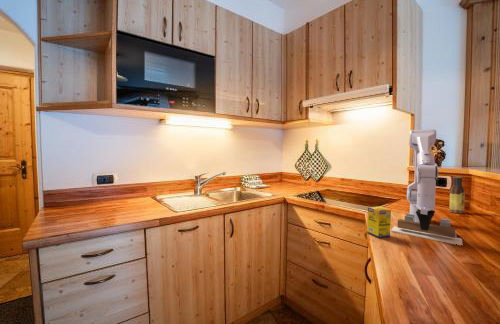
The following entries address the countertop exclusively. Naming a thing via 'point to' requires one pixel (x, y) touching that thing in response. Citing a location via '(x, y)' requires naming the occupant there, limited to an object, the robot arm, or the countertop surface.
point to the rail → (432, 229)
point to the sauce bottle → (457, 196)
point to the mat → (428, 236)
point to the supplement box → (379, 221)
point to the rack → (442, 223)
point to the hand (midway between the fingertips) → (424, 228)
